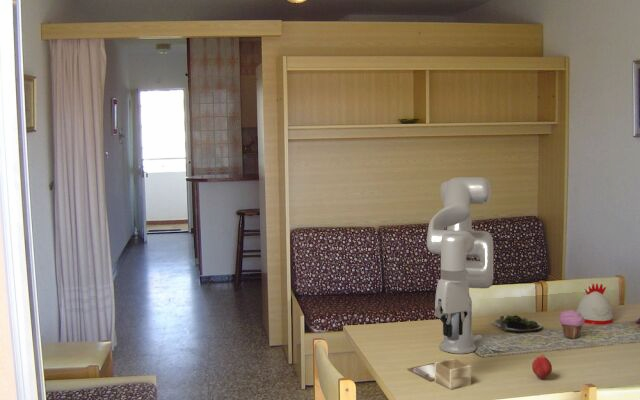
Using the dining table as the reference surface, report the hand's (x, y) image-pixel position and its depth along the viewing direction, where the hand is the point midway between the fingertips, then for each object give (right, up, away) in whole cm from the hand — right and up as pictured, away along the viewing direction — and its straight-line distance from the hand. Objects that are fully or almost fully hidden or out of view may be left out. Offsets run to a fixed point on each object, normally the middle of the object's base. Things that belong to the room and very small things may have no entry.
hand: (452, 334), depth 201 cm
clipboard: (-2, -14, +12) cm, 19 cm away
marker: (0, -2, 0) cm, 2 cm away
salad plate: (+37, -10, +59) cm, 70 cm away
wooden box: (0, -15, +2) cm, 15 cm away
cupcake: (+53, -10, +46) cm, 71 cm away
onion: (+28, -15, +4) cm, 32 cm away
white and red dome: (+71, -8, +68) cm, 99 cm away
